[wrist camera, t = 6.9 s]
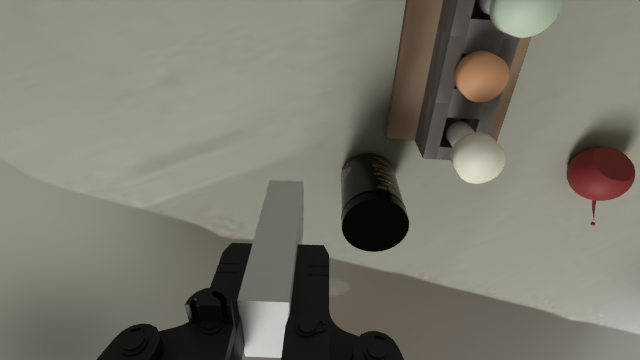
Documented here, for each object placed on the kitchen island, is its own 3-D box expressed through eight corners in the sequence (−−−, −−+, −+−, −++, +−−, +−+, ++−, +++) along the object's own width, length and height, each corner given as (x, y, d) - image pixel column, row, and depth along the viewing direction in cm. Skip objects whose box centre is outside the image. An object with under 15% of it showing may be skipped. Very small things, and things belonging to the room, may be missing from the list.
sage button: (463, 23, 30) (492, 36, 25) (476, -31, 28) (511, -31, 23) (510, 26, 30) (549, 39, 25) (526, -28, 28) (573, -27, 23)
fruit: (547, 165, 45) (565, 224, 41) (577, 139, 40) (600, 203, 36) (595, 168, 45) (617, 227, 41) (631, 142, 40) (660, 207, 36)
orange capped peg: (437, 80, 37) (455, 100, 31) (446, 40, 35) (467, 53, 29) (475, 83, 37) (500, 103, 31) (487, 42, 35) (515, 56, 29)
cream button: (434, 149, 37) (451, 182, 31) (442, 112, 35) (463, 140, 29) (473, 151, 37) (497, 184, 31) (484, 114, 35) (512, 143, 29)
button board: (385, 135, 42) (391, 156, 37) (413, -47, 32) (426, -49, 28) (492, 141, 42) (512, 163, 37) (550, -39, 32) (587, -40, 28)
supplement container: (347, 145, 43) (351, 192, 34) (401, 156, 43) (419, 206, 34) (334, 191, 46) (334, 245, 37) (385, 201, 47) (396, 257, 38)
